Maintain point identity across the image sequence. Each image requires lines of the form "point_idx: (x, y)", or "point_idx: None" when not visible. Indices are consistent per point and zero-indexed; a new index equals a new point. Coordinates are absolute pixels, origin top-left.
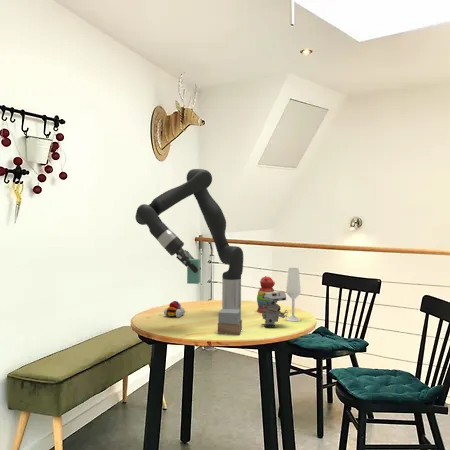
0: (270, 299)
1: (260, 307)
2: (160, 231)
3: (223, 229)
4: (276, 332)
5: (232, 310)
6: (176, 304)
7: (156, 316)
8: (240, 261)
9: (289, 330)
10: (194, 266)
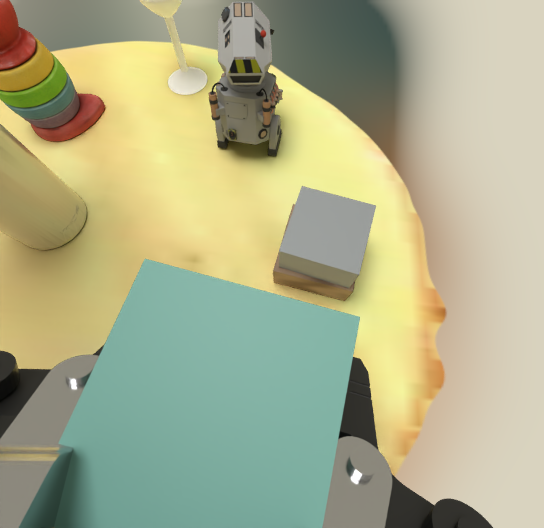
0: (267, 67)
1: (60, 123)
2: None
3: None
4: (330, 142)
5: (317, 216)
6: None
7: None
8: None
9: (309, 111)
10: (348, 393)
